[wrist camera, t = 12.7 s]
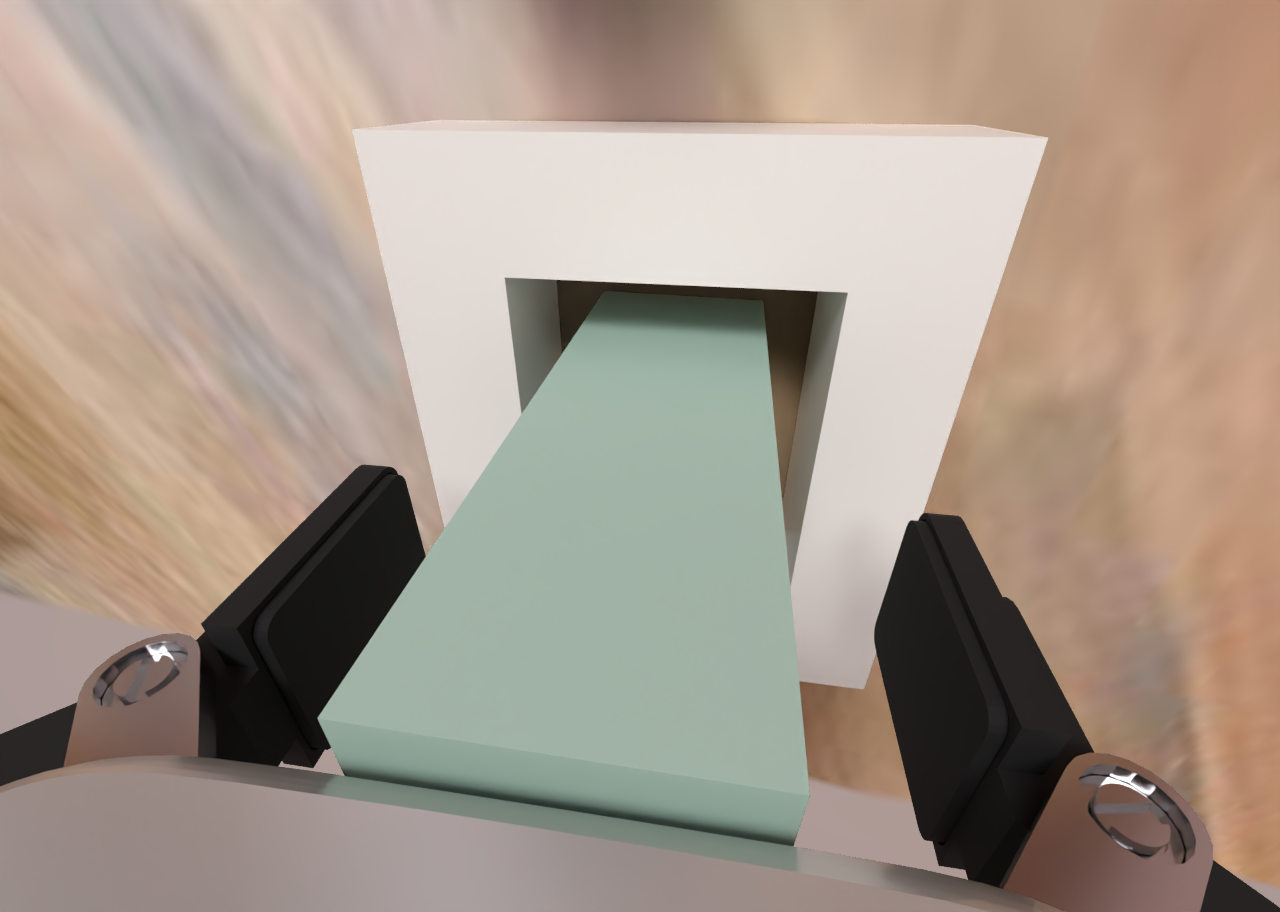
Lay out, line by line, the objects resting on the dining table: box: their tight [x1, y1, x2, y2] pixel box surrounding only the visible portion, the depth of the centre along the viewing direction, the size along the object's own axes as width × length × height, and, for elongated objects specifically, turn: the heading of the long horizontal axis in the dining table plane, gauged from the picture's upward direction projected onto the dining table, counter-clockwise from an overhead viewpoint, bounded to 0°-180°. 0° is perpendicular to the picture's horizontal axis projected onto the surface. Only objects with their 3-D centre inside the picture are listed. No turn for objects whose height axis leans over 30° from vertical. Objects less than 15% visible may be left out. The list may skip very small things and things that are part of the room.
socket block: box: [352, 120, 1048, 689], centre depth 15 cm, size 12×14×4 cm
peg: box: [317, 291, 810, 846], centre depth 11 cm, size 4×6×12 cm, turn 179°
